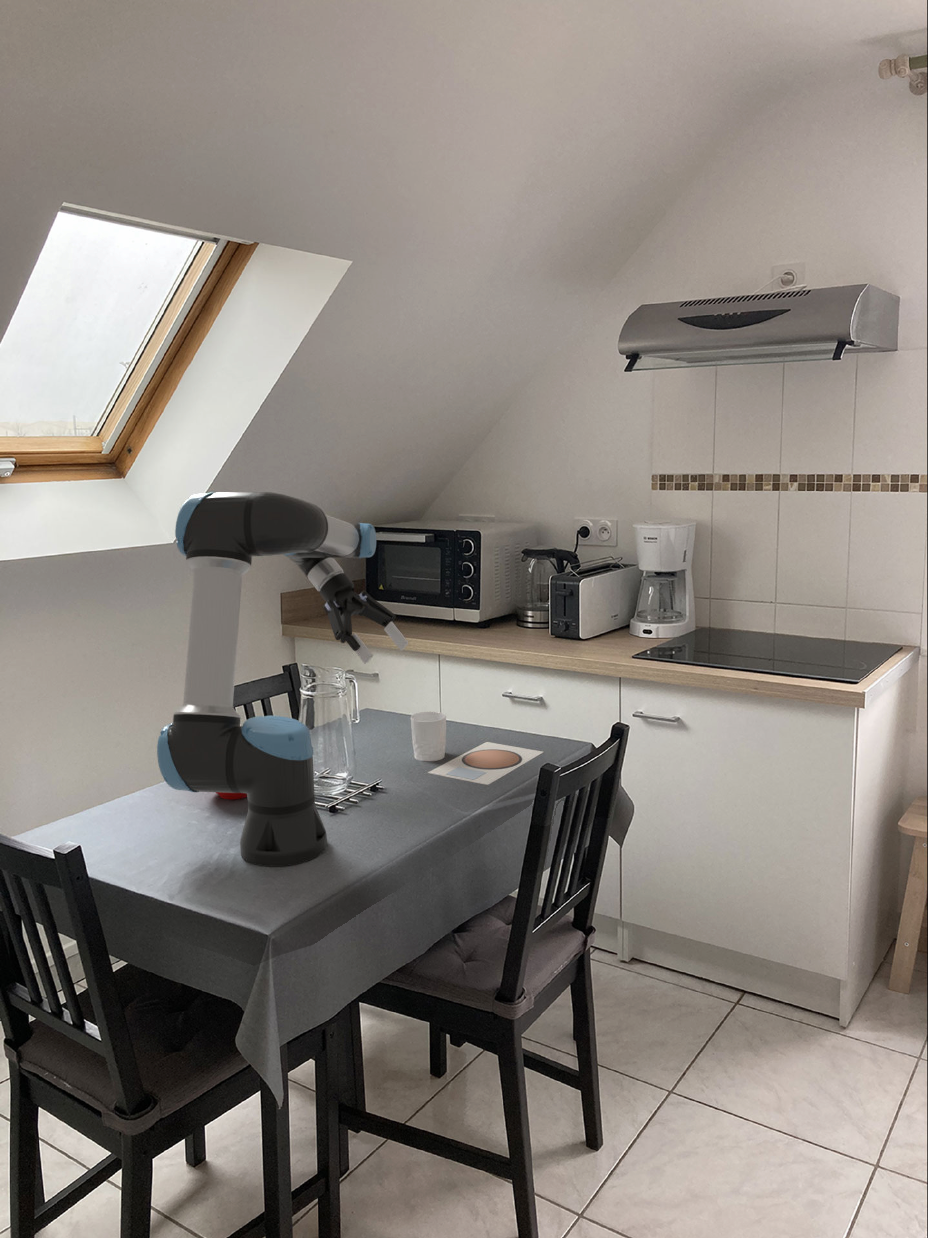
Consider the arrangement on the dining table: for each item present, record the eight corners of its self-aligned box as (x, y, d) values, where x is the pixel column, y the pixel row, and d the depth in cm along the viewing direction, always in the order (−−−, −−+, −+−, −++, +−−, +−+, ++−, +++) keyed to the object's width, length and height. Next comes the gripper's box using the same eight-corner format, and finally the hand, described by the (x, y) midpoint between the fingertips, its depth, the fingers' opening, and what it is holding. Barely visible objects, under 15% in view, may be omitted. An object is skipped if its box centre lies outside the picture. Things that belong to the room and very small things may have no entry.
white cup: (446, 765, 222) (445, 721, 220) (410, 765, 223) (409, 721, 221) (447, 753, 230) (446, 711, 228) (413, 754, 230) (411, 711, 228)
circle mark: (484, 773, 214) (483, 773, 214) (450, 757, 225) (450, 756, 225) (534, 761, 221) (534, 760, 221) (499, 746, 232) (499, 745, 232)
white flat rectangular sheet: (487, 788, 208) (487, 784, 207) (427, 776, 216) (427, 772, 216) (543, 755, 227) (543, 751, 227) (486, 745, 235) (486, 741, 235)
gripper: (356, 584, 245) (409, 651, 240) (286, 602, 224) (343, 676, 219) (373, 564, 241) (427, 631, 236) (304, 580, 220) (362, 654, 216)
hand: (387, 653), depth 228 cm, fingers open, 13 cm apart
